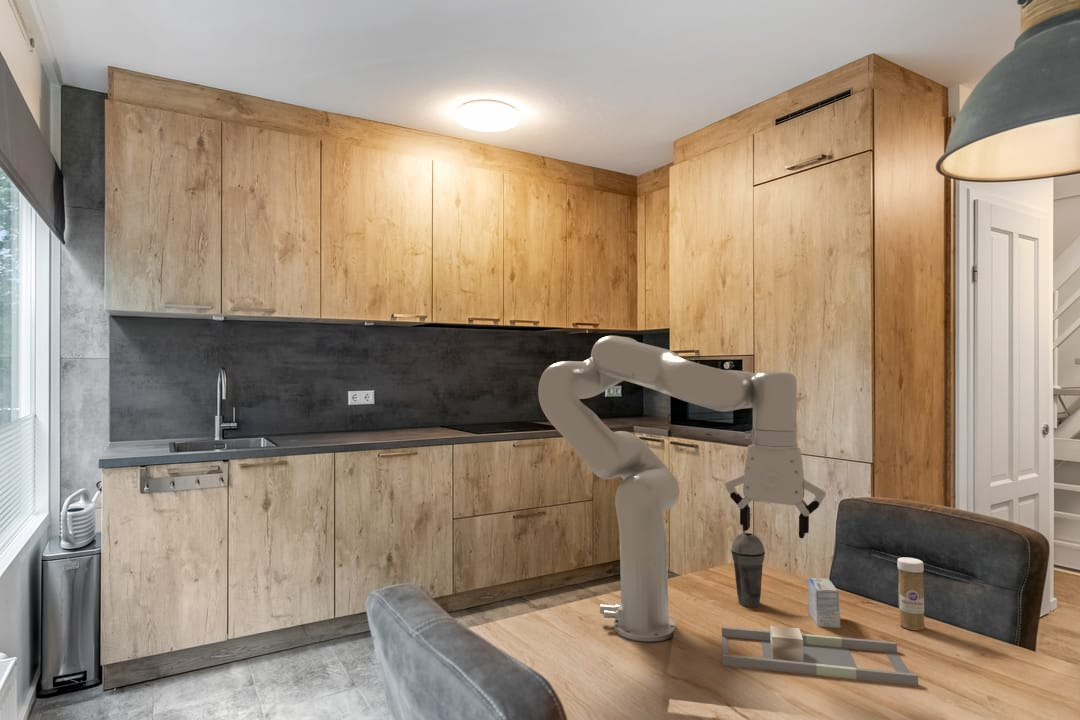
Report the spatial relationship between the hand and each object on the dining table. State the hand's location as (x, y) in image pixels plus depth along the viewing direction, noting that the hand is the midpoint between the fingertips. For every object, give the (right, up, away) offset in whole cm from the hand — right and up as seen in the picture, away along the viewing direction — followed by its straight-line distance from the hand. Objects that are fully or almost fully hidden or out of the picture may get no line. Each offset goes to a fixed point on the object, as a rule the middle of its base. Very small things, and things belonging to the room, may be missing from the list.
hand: (773, 532), depth 114 cm
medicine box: (+15, -23, +13) cm, 30 cm away
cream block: (+1, -21, -3) cm, 21 cm away
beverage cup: (+4, -23, +26) cm, 35 cm away
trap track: (+5, -22, -4) cm, 23 cm away
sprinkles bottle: (+32, -22, +12) cm, 41 cm away
